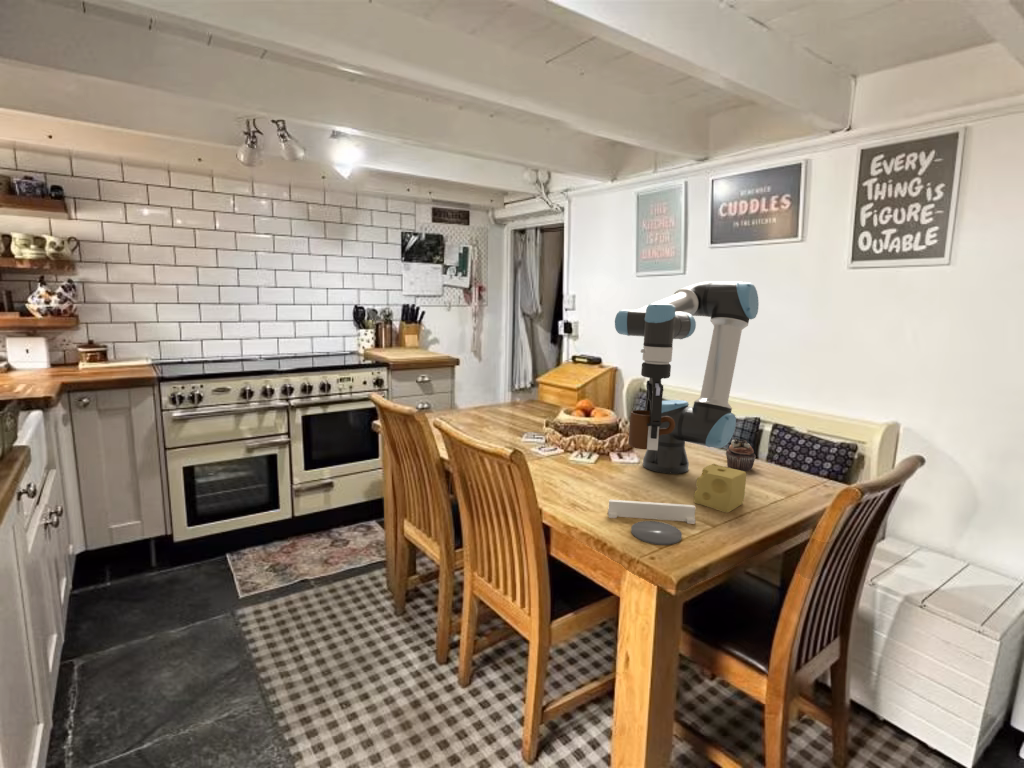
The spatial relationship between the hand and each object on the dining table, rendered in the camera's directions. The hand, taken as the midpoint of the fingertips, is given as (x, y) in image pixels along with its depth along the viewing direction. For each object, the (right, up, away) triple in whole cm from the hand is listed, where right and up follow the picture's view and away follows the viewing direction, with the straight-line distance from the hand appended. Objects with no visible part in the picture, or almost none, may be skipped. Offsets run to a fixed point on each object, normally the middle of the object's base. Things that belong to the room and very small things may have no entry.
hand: (650, 445), depth 149 cm
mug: (0, -1, -1) cm, 1 cm away
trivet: (-2, -20, -15) cm, 25 cm away
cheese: (+21, -18, +7) cm, 28 cm away
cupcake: (+41, -12, +41) cm, 60 cm away
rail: (-1, -18, -5) cm, 19 cm away
